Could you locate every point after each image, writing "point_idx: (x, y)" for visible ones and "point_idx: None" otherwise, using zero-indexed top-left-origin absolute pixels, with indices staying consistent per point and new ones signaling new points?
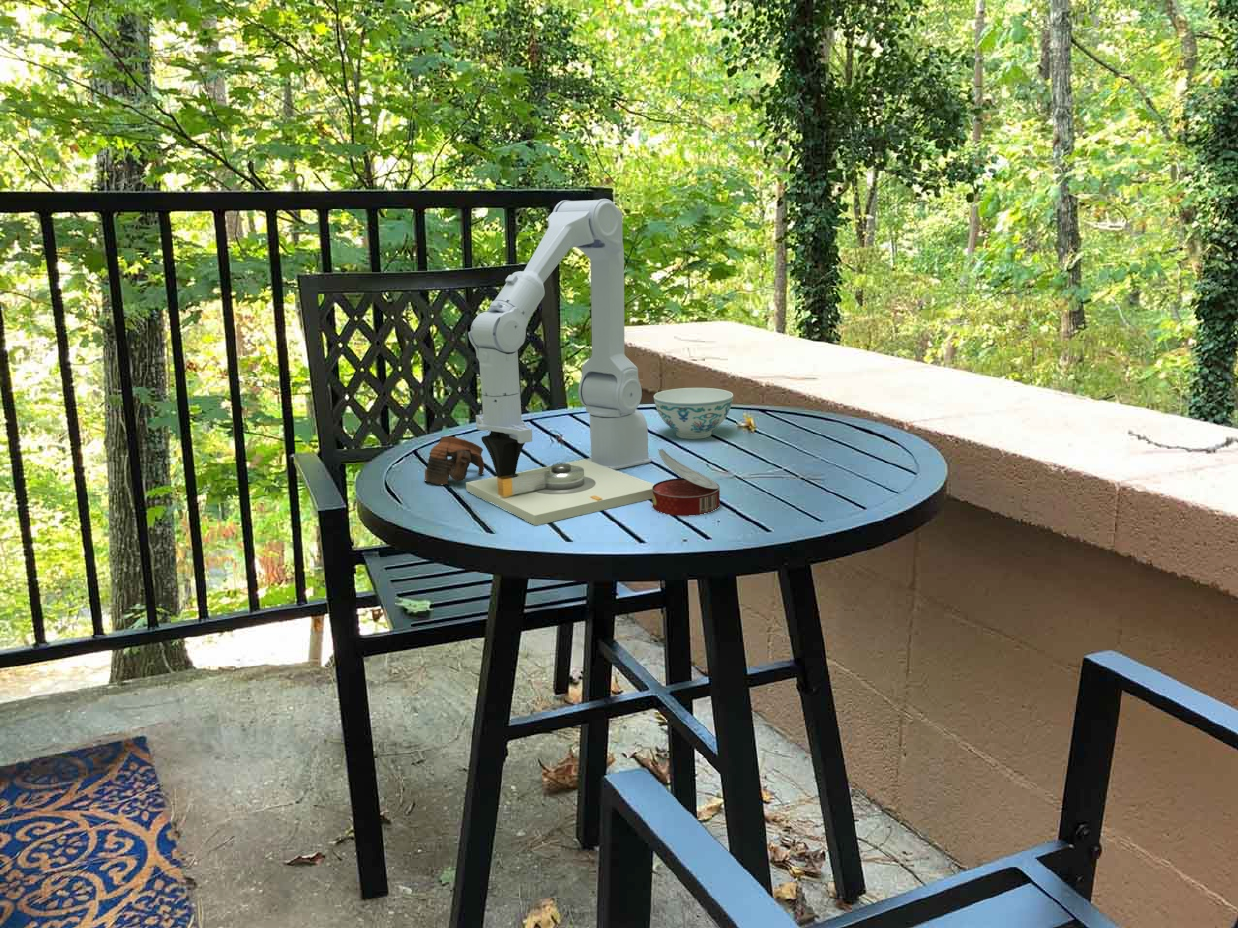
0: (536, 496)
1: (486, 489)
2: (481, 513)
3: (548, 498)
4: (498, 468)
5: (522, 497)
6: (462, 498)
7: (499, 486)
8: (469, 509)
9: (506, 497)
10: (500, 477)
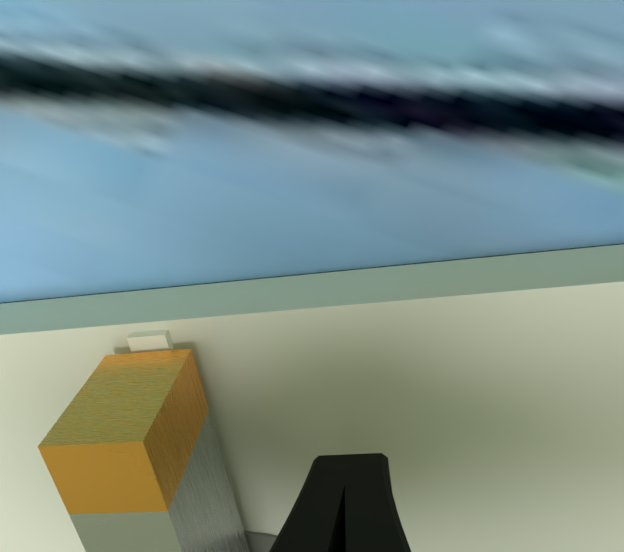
0: None
1: (417, 333)
2: (93, 147)
3: (19, 530)
4: (303, 539)
5: None
6: (559, 148)
7: (137, 393)
8: (229, 101)
9: None
10: (124, 460)
